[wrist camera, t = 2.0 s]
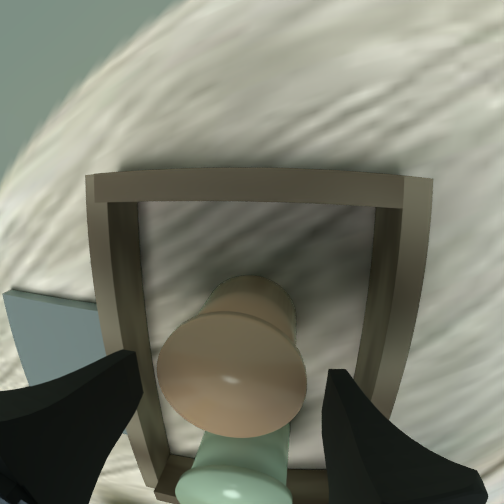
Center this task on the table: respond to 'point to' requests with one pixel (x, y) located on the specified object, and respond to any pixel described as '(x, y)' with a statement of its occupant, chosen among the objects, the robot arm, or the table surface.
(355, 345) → the table surface
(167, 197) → the frame
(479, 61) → the table surface
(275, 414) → the terracotta pot
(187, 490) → the green pot
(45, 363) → the slate slab
